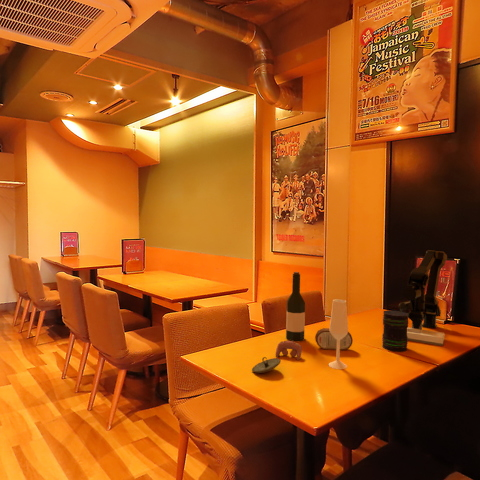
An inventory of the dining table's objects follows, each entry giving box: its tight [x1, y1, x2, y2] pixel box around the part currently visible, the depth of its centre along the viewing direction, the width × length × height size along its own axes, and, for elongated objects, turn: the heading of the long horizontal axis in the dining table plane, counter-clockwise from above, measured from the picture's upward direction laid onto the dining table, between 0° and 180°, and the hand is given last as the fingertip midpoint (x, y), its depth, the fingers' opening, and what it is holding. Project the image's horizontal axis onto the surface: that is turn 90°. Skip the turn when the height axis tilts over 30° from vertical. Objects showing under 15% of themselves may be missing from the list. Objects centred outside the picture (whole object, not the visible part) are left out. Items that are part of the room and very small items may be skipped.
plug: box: [411, 321, 423, 330], centre depth 183 cm, size 4×4×7 cm
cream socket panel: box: [407, 327, 445, 347], centre depth 174 cm, size 9×24×4 cm, turn 58°
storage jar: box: [381, 309, 409, 353], centre depth 160 cm, size 10×10×15 cm
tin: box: [314, 327, 354, 351], centre depth 157 cm, size 15×3×8 cm, turn 84°
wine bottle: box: [285, 271, 306, 342], centre depth 170 cm, size 8×8×30 cm
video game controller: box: [275, 340, 303, 361], centre depth 148 cm, size 10×5×7 cm, turn 71°
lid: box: [251, 356, 282, 374], centre depth 133 cm, size 11×10×5 cm
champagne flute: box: [328, 298, 349, 370], centre depth 139 cm, size 7×7×24 cm
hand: (416, 329), depth 183 cm, fingers open, 9 cm apart
